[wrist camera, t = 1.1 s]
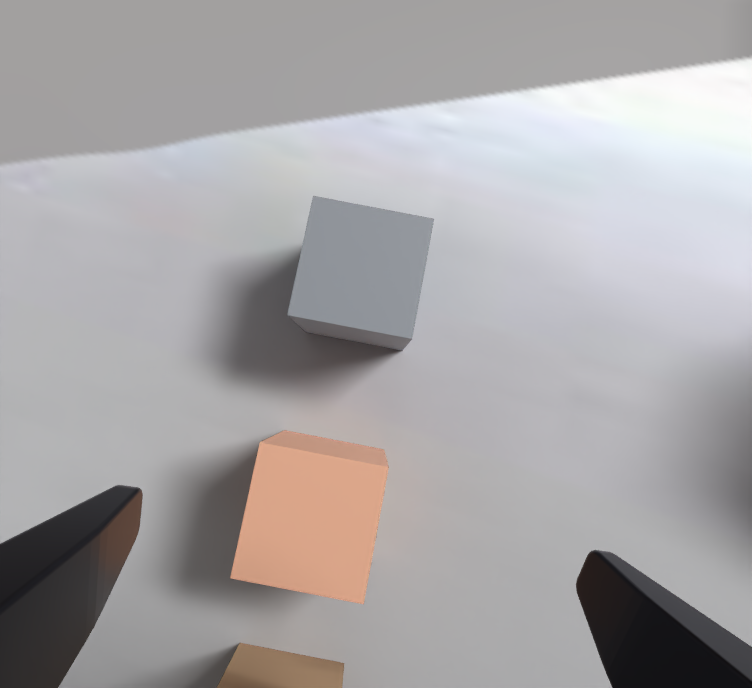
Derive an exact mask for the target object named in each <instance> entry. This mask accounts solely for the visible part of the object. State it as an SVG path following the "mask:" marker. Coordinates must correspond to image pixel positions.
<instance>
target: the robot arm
mask: <svg viewBox="0 0 752 688" xmlns="http://www.w3.org/2000/svg"><path fill="white" fill-rule="evenodd" d="M142 496H143V494H142V490H141V489H140V488H138V487H131V486H123V485H117V486H115V487H112V488H110V489H108V490H106V491H104V492H102V493H100V494H98V495H96V496H94V497H92V498H90V499H88V500H86V501H84V502H82V503H80V504H78V505H76V506H75V507H73V508H71V509H69V510H67V511H65V512H63V513H61V514H59V515H57V516H55V517H53V518H51V519H49V520H47V521H45V522H43V523H41V524H39V525H37V526H35V527H33V528H31V529H29V530H27V531H25V532H23V533H21V534H19V535H17V536H15V537H13V538H11V539H9V540H7V541H5V542H3V543H1V544H0V688H58V687H59V685H60V683H61V682H62V680H63V678H64V677H65V675H66V673H67V672H68V670H69V668H70V667H71V665H72V663H73V662H74V660H75V658H76V657H77V655H78V653H79V652H80V650H81V648H82V647H83V645H84V643H85V642H86V640H87V638H88V637H89V635H90V633H91V631H92V629H93V628H94V626H95V624H96V622H97V620H98V618H99V616H100V614H101V612H102V610H103V608H104V606H105V603H106V601H107V599H108V597H109V595H110V593H111V591H112V589H113V586H114V584H115V582H116V580H117V578H118V576H119V574H120V572H121V570H122V567H123V565H124V563H125V561H126V559H127V557H128V555H129V553H130V551H131V548H132V546H133V544H134V542H135V540H136V537H137V535H138V531H139V527H140V518H141V507H142ZM576 589H577V594H578V597H579V600H580V602H581V605H582V608H583V611H584V614H585V616H586V619H587V622H588V625H589V627H590V630H591V633H592V636H593V639H594V641H595V644H596V647H597V650H598V652H599V655H600V658H601V661H602V663H603V666H604V669H605V671H606V674H607V676H608V678H609V681H610V683H611V685H612V688H752V647H751V646H750V645H748V644H747V643H745V642H744V641H742V640H741V639H739V638H738V637H736V636H735V635H733V634H732V633H730V632H729V631H727V630H726V629H724V628H723V627H721V626H720V625H718V624H717V623H716V622H714V621H713V620H711V619H710V618H708V617H707V616H705V615H704V614H702V613H701V612H699V611H698V610H696V609H695V608H693V607H692V606H690V605H689V604H687V603H686V602H684V601H683V600H682V599H680V598H679V597H677V596H676V595H674V594H673V593H671V592H670V591H668V590H667V589H665V588H664V587H662V586H661V585H659V584H658V583H656V582H655V581H653V580H652V579H650V578H649V577H647V576H646V575H645V574H643V573H642V572H640V571H639V570H637V569H636V568H634V567H633V566H631V565H630V564H628V563H627V562H625V561H624V560H622V559H621V558H619V557H618V556H616V555H615V554H613V553H611V552H606V551H599V550H593V551H591V552H590V553H589V554H588V556H587V558H586V560H585V562H584V565H583V567H582V569H581V572H580V574H579V576H578V578H577V583H576Z"/></svg>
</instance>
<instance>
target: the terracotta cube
mask: <svg viewBox="0 0 752 688" xmlns="http://www.w3.org/2000/svg"><path fill="white" fill-rule="evenodd" d="M388 468H389V466H388V463H387V459H386V455H385V452H384V449H379V448H374V447H369V446H363V445H358V444H353V443H348V442H343V441H337V440H332V439H327V438H322V437H317V436H312V435H306V434H301V433H296V432H291V431H286V430H284V431H282V432H280V433H278V434H276V435H274V436H272V437H270V438H268V439H266V440H263V441H261V442H260V444H259V448H258V453H257V457H256V462H255V466H254V471H253V476H252V480H251V485H250V489H249V494H248V499H247V503H246V508H245V512H244V517H243V522H242V526H241V531H240V535H239V540H238V545H237V549H236V554H235V558H234V563H233V567H232V572H231V577H230V578H232V579H237V580H242V581H247V582H252V583H257V584H262V585H268V586H273V587H278V588H283V589H288V590H293V591H298V592H304V593H309V594H314V595H319V596H324V597H329V598H335V599H340V600H345V601H350V602H355V603H360V604H364V599H365V593H366V588H367V583H368V577H369V572H370V566H371V561H372V555H373V550H374V544H375V539H376V534H377V528H378V523H379V517H380V512H381V506H382V501H383V496H384V490H385V485H386V479H387V474H388Z"/></svg>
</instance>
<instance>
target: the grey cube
mask: <svg viewBox="0 0 752 688" xmlns="http://www.w3.org/2000/svg"><path fill="white" fill-rule="evenodd" d="M433 222H434V219H432V218H427V217H422V216H416V215H411V214H406V213H401V212H395V211H390V210H385V209H380V208H374V207H369V206H364V205H359V204H353V203H348V202H343V201H338V200H332V199H327V198H322V197H317V196H313V199H312V203H311V208H310V213H309V217H308V222H307V226H306V231H305V236H304V240H303V245H302V249H301V254H300V259H299V263H298V268H297V272H296V277H295V282H294V286H293V291H292V295H291V300H290V305H289V309H288V314H287V315H288V316H289V317H290V318H291V319H292V320H293V321H294V322H295V323H296V324H298V325H299V326H300V327H301V328H302V329H303V330H304V331H305V332H308V333H313V334H318V335H324V336H329V337H334V338H339V339H344V340H350V341H355V342H360V343H365V344H370V345H376V346H381V347H386V348H391V349H396V350H402V351H403V349H404V348H405V347H406V346H407V344H408V343H409V342H410V341H411V340H412V336H413V331H414V326H415V320H416V315H417V309H418V304H419V298H420V293H421V287H422V282H423V276H424V271H425V265H426V260H427V255H428V249H429V244H430V238H431V233H432V227H433Z"/></svg>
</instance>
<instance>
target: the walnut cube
mask: <svg viewBox="0 0 752 688" xmlns="http://www.w3.org/2000/svg"><path fill="white" fill-rule="evenodd" d="M343 671H344V663H340V662H335V661H330V660H325V659H320V658H315V657H310V656H305V655H300V654H294V653H289V652H284V651H279V650H274V649H269V648H264V647H259V646H253V645H248V644H243V643H239V645H238V647H237V649H236V651H235V653H234V655H233V657H232V659H231V661H230V663H229V665H228V667H227V669H226V671H225V673H224V675H223V676H222V678H221V680H220V682H219V684H218V686H217V688H342V682H343Z"/></svg>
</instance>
